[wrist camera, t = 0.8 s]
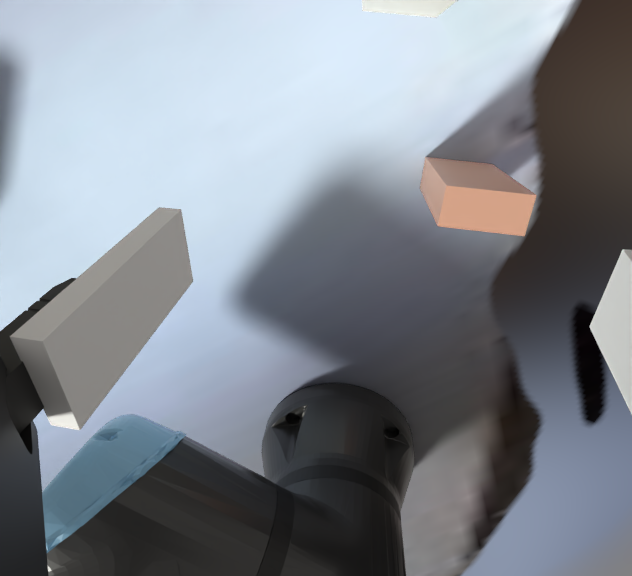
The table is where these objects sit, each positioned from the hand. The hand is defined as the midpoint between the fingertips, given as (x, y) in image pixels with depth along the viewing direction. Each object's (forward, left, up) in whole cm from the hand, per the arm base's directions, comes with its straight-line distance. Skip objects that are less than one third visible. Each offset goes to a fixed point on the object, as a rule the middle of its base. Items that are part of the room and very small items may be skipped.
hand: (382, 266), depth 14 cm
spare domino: (-1, -7, -23) cm, 24 cm away
